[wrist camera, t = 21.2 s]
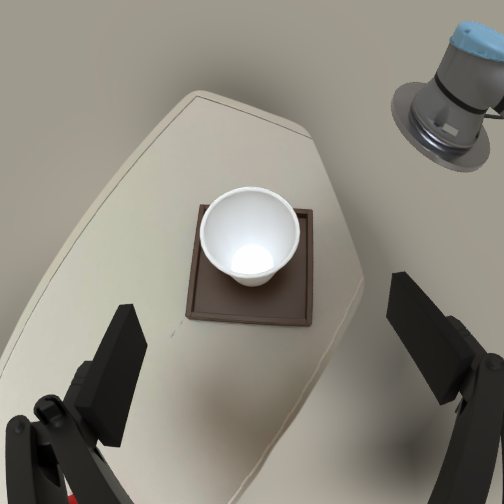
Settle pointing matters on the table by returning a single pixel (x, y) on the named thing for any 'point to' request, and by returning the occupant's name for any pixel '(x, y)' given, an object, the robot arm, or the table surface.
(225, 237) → the cup
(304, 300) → the square brown tray
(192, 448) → the table surface
